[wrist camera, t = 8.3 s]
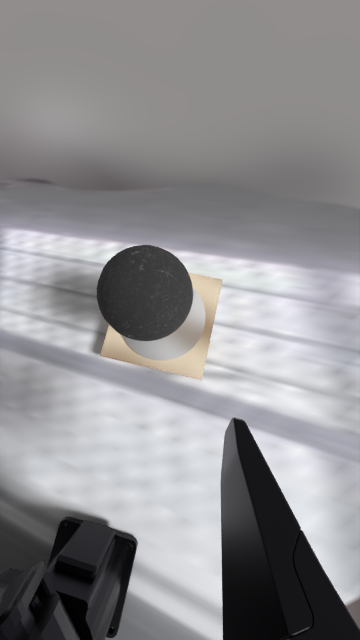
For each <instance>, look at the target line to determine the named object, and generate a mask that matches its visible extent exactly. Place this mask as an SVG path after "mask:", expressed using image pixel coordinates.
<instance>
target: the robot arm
mask: <svg viewBox="0 0 360 640" xmlns="http://www.w3.org/2000/svg"><path fill="white" fill-rule="evenodd" d="M65 523H67V524H68V527H66V526H65ZM300 529H301V527H300V525H299V523H298V521H297V520H296V518H295V516H294V514H293V512H292V510H291V508H290V506H289V504H288V502H287V501H286V499H285V497H284V495H283V493H282V491H281V489H280V487H279V485H278V483H277V481H276V480H275V478H274V476H273V474H272V472H271V470H270V468H269V466H268V464H267V462H266V461H265V459H264V457H263V455H262V453H261V451H260V449H259V447H258V445H257V443H256V442H255V440H254V438H253V436H252V434H251V432H250V430H249V428H248V426H247V424H246V423H245V421H244V420H242V419H238V418H232V420H231V422H230V424H229V426H228V428H227V430H226V432H225V438H224V449H223V460H222V471H221V536H222V599H223V640H360V629H359V627H358V626H357V624H356V623H355V621H354V619H353V618H352V616H351V614H350V613H349V611H348V610H347V608H346V606H345V605H344V603H343V601H342V600H341V598H340V596H339V595H338V593H337V591H336V590H335V588H334V586H333V585H332V583H331V581H330V580H329V578H328V576H327V575H326V573H325V571H324V570H323V568H322V566H321V564H320V562H319V561H318V559H317V557H316V555H315V553H314V551H313V550H312V548H311V546H310V544H309V542H308V540H307V538H306V536H305V535H304V533H303V531H302V530H300ZM129 543H131V544H133V547H129V545H128V544H129ZM137 545H138V542H137V540H136V538H134V537H132V536H129V535H126V534H123V533H119V532H116V531H114V529H112V528H109V527H105V526H102V525H99V524H96V523H92V522H89V521H81V520H77V519H74V518H71V517H65V518H64V519H63V520H62V521H61V522H60V524H59V528H58V531H57V535H56V539H55V542H54V546H53V549H52V553H51V556H50V560H49V564H48V567H47V566H46V564H45V562H44V560H41V561H40V562H39V563H37V564H36V565H35V566H32V567H30V568H29V569H27V570H26V571H24V570H22V571H19V570H15V569H12V568H10V569H8V570H7V571H6V572H4V573H3V574H2V575H1V576H0V640H105V638H106V637H108V638H113V637H115V636H116V634H117V632H118V628H119V625H120V620H121V616H122V611H123V607H124V603H125V598H126V594H127V589H128V585H129V581H130V576H131V572H132V567H133V563H134V559H135V554H136V550H137ZM110 626H113V627H114V629H112V628H110Z"/></svg>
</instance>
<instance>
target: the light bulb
mask: <svg viewBox="0 0 360 640" xmlns="http://www.w3.org/2000/svg"><path fill="white" fill-rule="evenodd" d="M97 300H98V304H99V308H100V310H101V313H102V315H103V317H104V318H105V320H106V321H107V322H108V323H109V325H110V326H111V327H112V328H113V329H114V330H115V331H116V332H118V333H119V334H121V335H123V336H125V337H127V338H130V339H133V340H137V341H154V340H159V339H162V338H164V337H167V336H169V335H170V334H172V333H173V332H175V331H176V330H177V329H178V328H179V327H180V326H181V325H182V324H183V323H184V321H185V320H186V318H187V316H188V314H189V312H190V310H191V306H192V303H193V287H192V282H191V278H190V276H189V274H188V272H187V270H186V268H185V266H184V265H183V264H182V263H181V262H180V260H179V259H178V258H177V257H175V256H174V255H173V254H171V253H170V252H168V251H166V250H164V249H162V248H159V247H155V246H151V245H141V246H133V247H130V248H127V249H125V250H123V251H121V252H119V253H117V254H116V255H115V256H114V257H112V258H111V259H110V260H109V261H108V262H107V264H106V265H105V267H104V268H103V270H102V273H101V275H100V278H99V281H98V286H97Z"/></svg>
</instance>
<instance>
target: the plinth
mask: <svg viewBox="0 0 360 640" xmlns="http://www.w3.org/2000/svg"><path fill="white" fill-rule="evenodd" d="M188 274H189V276H190V278H191V282H192V287H193V303H192V306H191V310H190V312H189V314H188V316H187V318H186V320H185V321H184V323H183V324H182V325H181V326H180V327H179V328H178V329H177V330H176V331H175V332H173V333H172V334H170V335H169V336H167V337H164V338H162V339H159V340H154V341H137V340H133V339H130V338H127V337H125V336H123V335H121V334H119V333H118V332H116V331H115V330H114V329H113V328H112V327H111V326H110V325H109V326H108V330H107V333H106V337H105V340H104V344H103V347H102V351H101V354H100V356H103V357H107V358H111V359H115V360H120V361H124V362H128V363H132V364H136V365H141V366H145V367H149V368H153V369H158V370H162V371H166V372H170V373H174V374H179V375H183V376H187V377H191V378H196V379H200V380H202V376H203V371H204V366H205V361H206V356H207V352H208V347H209V342H210V337H211V332H212V328H213V323H214V318H215V313H216V308H217V304H218V299H219V294H220V289H221V284H222V280H223V279H217V278H212V277H207V276H202V275H197V274H192V273H188Z"/></svg>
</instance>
